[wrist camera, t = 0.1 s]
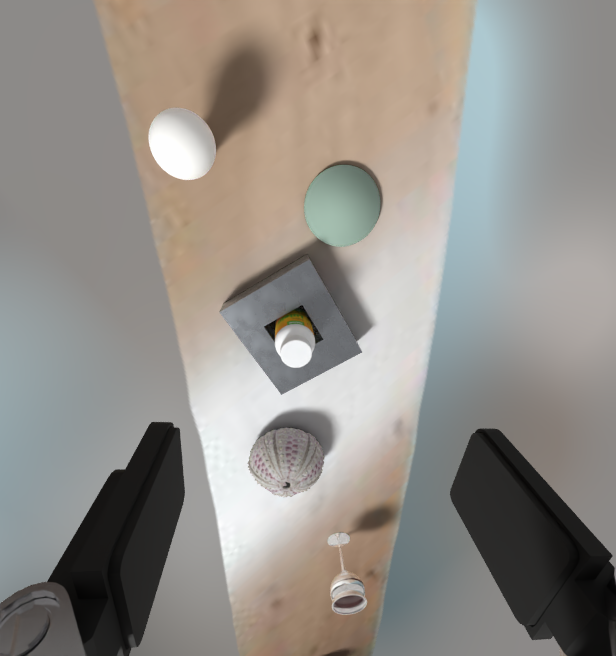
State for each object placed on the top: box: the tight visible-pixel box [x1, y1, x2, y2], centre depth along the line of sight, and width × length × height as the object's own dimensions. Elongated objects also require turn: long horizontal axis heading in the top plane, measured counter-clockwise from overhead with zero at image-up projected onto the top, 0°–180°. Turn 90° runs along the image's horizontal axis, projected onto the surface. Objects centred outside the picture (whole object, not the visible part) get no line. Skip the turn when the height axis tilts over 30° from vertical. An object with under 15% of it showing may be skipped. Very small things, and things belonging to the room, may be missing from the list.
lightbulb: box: [149, 108, 216, 180], centre depth 34 cm, size 6×6×11 cm
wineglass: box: [328, 533, 367, 615], centre depth 65 cm, size 7×7×12 cm
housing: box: [220, 254, 362, 395], centre depth 47 cm, size 16×14×4 cm
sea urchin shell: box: [248, 427, 324, 497], centre depth 55 cm, size 13×14×8 cm
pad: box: [304, 165, 380, 247], centre depth 42 cm, size 10×10×1 cm
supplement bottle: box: [275, 308, 315, 368], centre depth 44 cm, size 5×5×10 cm
